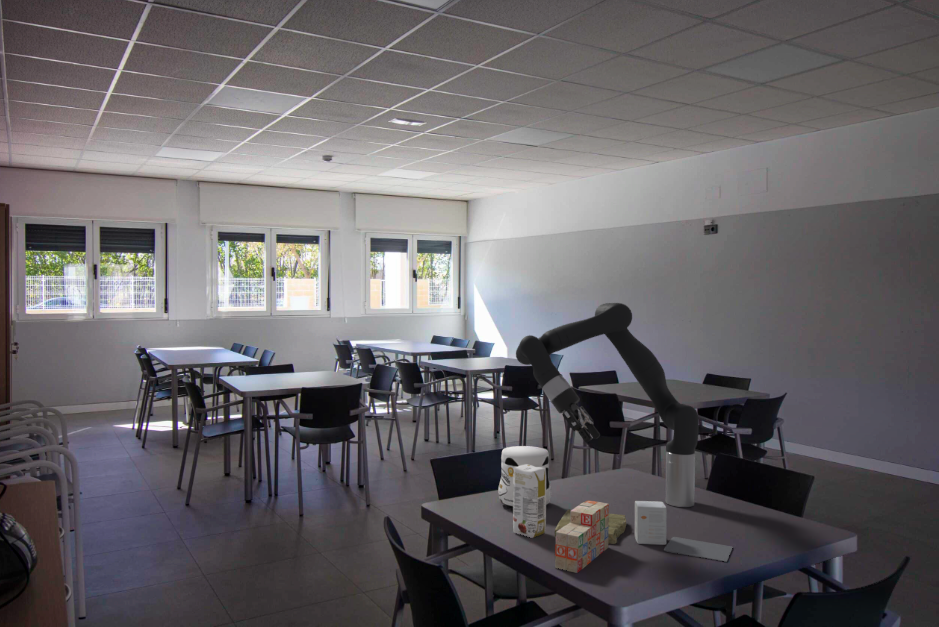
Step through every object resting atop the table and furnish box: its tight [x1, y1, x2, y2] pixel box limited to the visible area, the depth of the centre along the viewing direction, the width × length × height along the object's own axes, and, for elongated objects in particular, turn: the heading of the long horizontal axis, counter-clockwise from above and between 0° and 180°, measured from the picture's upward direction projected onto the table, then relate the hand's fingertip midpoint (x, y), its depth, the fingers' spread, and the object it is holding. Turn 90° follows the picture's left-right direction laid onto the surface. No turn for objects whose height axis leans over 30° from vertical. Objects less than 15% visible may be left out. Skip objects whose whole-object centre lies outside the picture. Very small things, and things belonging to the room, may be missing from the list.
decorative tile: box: [554, 509, 627, 545], centre depth 197 cm, size 19×20×4 cm
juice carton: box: [512, 464, 547, 539], centre depth 193 cm, size 8×9×19 cm
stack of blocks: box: [554, 500, 610, 574], centre depth 175 cm, size 21×6×12 cm, turn 148°
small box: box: [634, 500, 667, 546], centre depth 188 cm, size 8×6×10 cm
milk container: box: [497, 445, 552, 509], centre depth 220 cm, size 17×17×18 cm
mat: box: [662, 536, 734, 563], centre depth 182 cm, size 12×16×1 cm
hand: (593, 439), depth 195 cm, fingers open, 8 cm apart
